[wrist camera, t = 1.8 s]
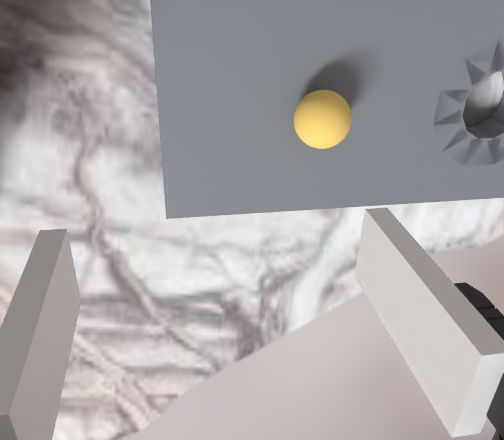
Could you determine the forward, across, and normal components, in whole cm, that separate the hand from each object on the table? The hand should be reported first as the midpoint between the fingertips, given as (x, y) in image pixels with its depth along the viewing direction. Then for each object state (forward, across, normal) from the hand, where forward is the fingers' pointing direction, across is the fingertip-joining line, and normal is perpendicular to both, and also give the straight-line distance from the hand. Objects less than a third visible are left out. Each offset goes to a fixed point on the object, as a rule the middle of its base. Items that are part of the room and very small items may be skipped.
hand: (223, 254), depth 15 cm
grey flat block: (+18, +12, 0) cm, 21 cm away
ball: (+13, +8, 0) cm, 15 cm away
